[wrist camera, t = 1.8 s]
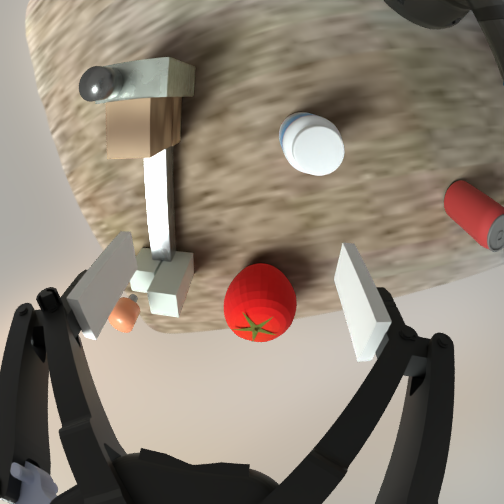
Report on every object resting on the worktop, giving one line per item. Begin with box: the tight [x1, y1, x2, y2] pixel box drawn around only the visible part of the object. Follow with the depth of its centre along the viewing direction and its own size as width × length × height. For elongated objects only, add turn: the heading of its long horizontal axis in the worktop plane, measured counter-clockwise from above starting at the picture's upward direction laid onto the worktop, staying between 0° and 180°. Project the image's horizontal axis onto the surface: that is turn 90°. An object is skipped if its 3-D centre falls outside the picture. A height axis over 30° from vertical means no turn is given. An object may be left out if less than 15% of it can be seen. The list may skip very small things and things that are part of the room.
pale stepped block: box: [130, 248, 194, 317], centre depth 38 cm, size 4×9×10 cm, turn 85°
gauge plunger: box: [108, 294, 140, 333], centre depth 32 cm, size 3×3×5 cm
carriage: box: [106, 97, 182, 159], centre depth 26 cm, size 6×5×10 cm
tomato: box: [224, 263, 297, 342], centre depth 39 cm, size 10×11×11 cm
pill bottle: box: [279, 112, 344, 176], centre depth 27 cm, size 6×6×11 cm
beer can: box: [444, 180, 504, 252], centre depth 29 cm, size 7×7×12 cm
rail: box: [79, 57, 196, 262], centre depth 29 cm, size 27×8×13 cm, turn 175°
